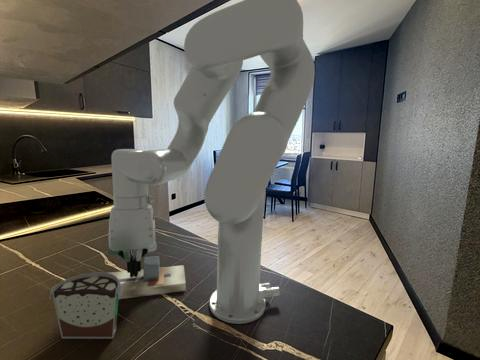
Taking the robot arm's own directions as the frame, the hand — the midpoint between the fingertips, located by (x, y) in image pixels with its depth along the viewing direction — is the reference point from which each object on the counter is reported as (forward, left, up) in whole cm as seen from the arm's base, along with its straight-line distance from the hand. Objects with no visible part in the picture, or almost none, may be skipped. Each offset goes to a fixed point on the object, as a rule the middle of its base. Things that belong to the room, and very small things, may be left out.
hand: (134, 274), depth 62 cm
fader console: (-1, 0, -3) cm, 3 cm away
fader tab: (-4, 0, -1) cm, 4 cm away
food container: (+6, +12, -4) cm, 14 cm away
